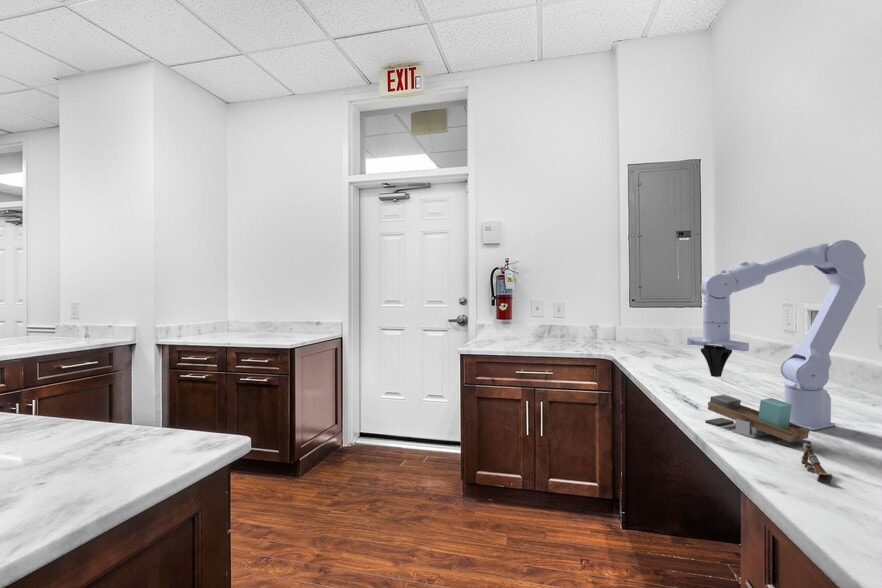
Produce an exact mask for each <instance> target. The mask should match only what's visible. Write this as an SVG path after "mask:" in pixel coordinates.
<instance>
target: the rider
mask: <svg viewBox="0 0 882 588" xmlns="http://www.w3.org/2000/svg"><path fill="white" fill-rule="evenodd" d="M758 408H759V409H758V411H759V415H758V420H760V421H763V422H765V423H768V424H771V425H773V426H776V427H779V428H785V427H789V421H790V414H791V408H792V404H789V403H785V402H784V401H783V400H779V399H775V398H773V397H769V398H764V399H760V402H759V407H758Z"/></svg>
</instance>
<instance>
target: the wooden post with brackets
mask: <svg viewBox="0 0 882 588" xmlns="http://www.w3.org/2000/svg"><path fill="white" fill-rule="evenodd" d="M802 449H803V450H804V451H803V455H802V456H801V459H800V463H801V464H802V465H804V468H806V470H807V472H810V473H812V472H814V473H815V472H816V474H817V478H816V481H817V482H823V483H832V479H833V476H834V475H833V474H832V473H828V472H827V471H826V470H825V469H824V468H823V466H822V465H821V462H820V460H819V459H818V457H817V455H816V454H815V453H814V449H813V448H812V445H811V444H807V443H804V444H803V446H802Z"/></svg>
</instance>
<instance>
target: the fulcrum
mask: <svg viewBox="0 0 882 588" xmlns="http://www.w3.org/2000/svg"><path fill="white" fill-rule="evenodd" d="M734 421H735V422H734ZM705 423H706V424H709V425H713V426H715V425H716V426H715V427H720V426H726V425H730V424H729V423H731V424H734V423H735V428H732V429H731V432H732V433H735V434H738V433H739V435H741V434H743V435H742V436H745V435H747V436H746V437H748V436H750V437H749V438H752V437H754V438H753V439H756V438H755V437H758V438H761V437H760V436H763V437H766V436H765V435H767V436H772V435H771V434H769V433H766V432H764V431H761V430H759V429H756V428H754V427H752V422H750V421H746V420H743V419H739V418H737V419H736V420H733V419H730V418H726V417H725V418H724V417H718V418H713V419H707V420H705ZM725 424H726V425H725ZM804 443H807V444H810V445H811V443H812V441H810V440H806V439H802V440H797V441H793V442H789V441H787V440H784V439H781V440H777V444H779V445H782V446H785V447H788V448H792V447H793V448H792V449H795V448H794V447H796V448H799V447H798V446H800V447H803V444H804Z"/></svg>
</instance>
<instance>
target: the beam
mask: <svg viewBox="0 0 882 588" xmlns="http://www.w3.org/2000/svg"><path fill="white" fill-rule="evenodd" d="M741 401H742V400H741V399H739V398H736V397H732V396H729V395H726V394H720V395H714V396H710V399H709V401H708V402H707V411H711V412H713V413H716V414H718V415H721V416H723V417H725V418H727V419H730V420H732V421H736V419H737V418H739V419H743V420H746V421H750V422H752V427H754V428H756V429H759V430H761V431H764V432H766V433H769V434H772V435H771V436H775V437H777V438H780V439H781V440H787V441H789V442H793V441H797V440H802V439H803V440H806V439H809V434H810V431H811V430H810V429H808V428H806V427H802V426H799V425H796V424H793V423H791V422H789V427H785V428H779V427H776V426H773V425H771V424H768V423H765V422H763V421H760V420H758V415H759V410H757V409H753V408H751V407H748V406H745V405H743V404H741V403H742V402H741Z"/></svg>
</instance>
